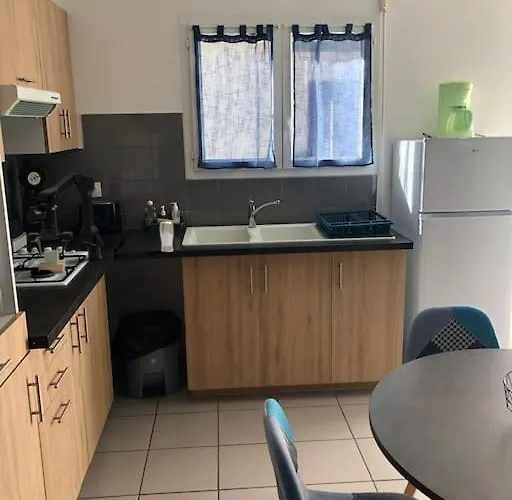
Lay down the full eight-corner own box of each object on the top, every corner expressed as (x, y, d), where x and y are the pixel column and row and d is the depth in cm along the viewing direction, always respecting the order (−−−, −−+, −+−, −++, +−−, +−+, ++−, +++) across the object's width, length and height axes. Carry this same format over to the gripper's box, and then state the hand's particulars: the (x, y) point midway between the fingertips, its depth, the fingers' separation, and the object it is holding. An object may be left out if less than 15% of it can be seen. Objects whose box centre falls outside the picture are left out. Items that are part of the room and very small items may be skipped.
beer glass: (164, 249, 304) (163, 221, 301) (176, 250, 302) (175, 221, 299) (158, 251, 298) (157, 222, 295) (169, 252, 295) (168, 223, 292)
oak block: (42, 269, 258) (41, 260, 258) (65, 268, 260) (65, 259, 260) (39, 274, 249) (38, 265, 248) (63, 273, 251) (62, 264, 250)
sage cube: (47, 261, 256) (46, 250, 255) (58, 261, 256) (58, 250, 256) (44, 263, 251) (44, 252, 250) (56, 263, 252) (56, 252, 251)
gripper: (22, 223, 241) (25, 260, 244) (68, 222, 244) (70, 258, 247) (28, 220, 252) (31, 255, 255) (72, 219, 255) (74, 253, 258)
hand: (51, 255), depth 253 cm, fingers open, 9 cm apart
